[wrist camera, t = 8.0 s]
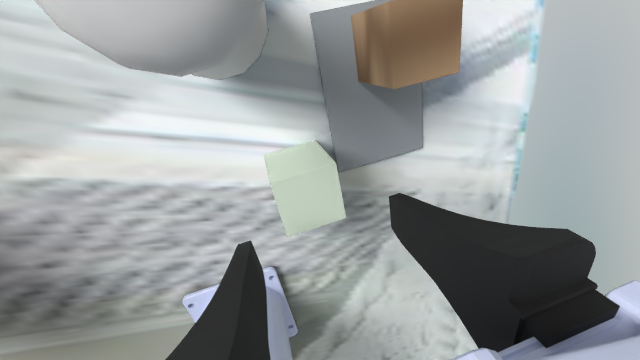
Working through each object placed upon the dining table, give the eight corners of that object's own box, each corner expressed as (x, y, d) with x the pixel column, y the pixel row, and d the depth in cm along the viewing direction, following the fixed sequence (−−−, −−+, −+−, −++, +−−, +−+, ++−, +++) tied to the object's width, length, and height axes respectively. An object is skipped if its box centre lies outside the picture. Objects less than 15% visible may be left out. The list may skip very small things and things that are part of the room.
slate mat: (420, 146, 23) (422, 147, 22) (337, 171, 21) (339, 172, 21) (418, -8, 18) (421, -9, 17) (309, 13, 16) (310, 13, 16)
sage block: (325, 185, 22) (346, 217, 17) (277, 200, 21) (287, 237, 17) (315, 139, 20) (335, 163, 16) (263, 154, 19) (269, 183, 15)
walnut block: (409, 68, 19) (459, 72, 15) (358, 81, 19) (394, 89, 14) (407, 4, 17) (463, -15, 13) (350, 15, 17) (389, 1, 12)
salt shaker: (243, -51, 14) (245, -466, 3) (277, 60, 17) (347, 68, 6) (133, -25, 14) (-410, -429, 2) (186, 87, 16) (59, 159, 5)
